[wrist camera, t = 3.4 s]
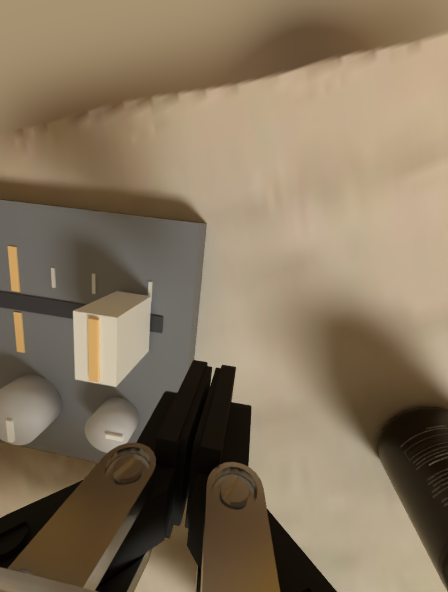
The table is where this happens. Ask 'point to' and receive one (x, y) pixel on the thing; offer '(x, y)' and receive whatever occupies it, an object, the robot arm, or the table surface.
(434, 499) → the supplement bottle
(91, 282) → the console
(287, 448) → the table surface
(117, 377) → the fader tab
